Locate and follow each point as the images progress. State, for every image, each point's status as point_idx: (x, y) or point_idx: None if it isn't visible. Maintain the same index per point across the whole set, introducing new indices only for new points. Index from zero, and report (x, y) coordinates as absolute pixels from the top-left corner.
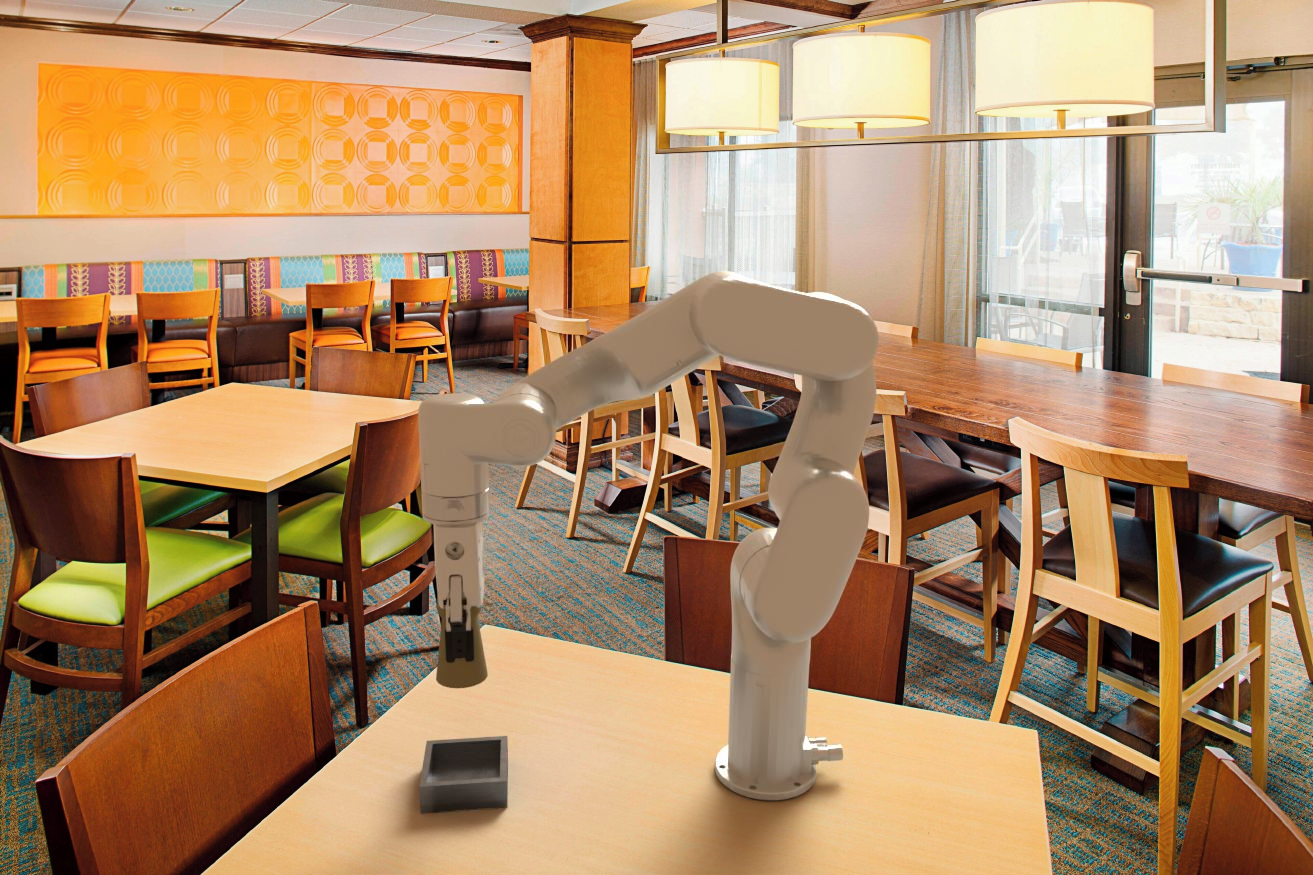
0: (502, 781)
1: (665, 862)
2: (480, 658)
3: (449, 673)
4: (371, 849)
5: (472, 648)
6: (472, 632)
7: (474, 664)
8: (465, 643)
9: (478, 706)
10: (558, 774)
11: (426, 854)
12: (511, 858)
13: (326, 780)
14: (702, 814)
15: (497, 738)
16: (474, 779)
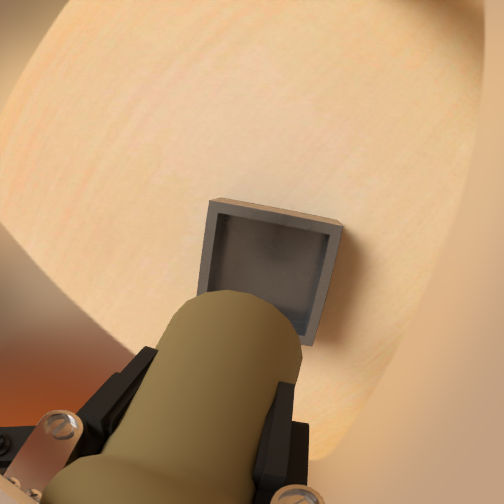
0: (341, 232)
1: (478, 79)
2: (264, 351)
3: None
4: (356, 377)
5: (291, 415)
6: (284, 466)
7: (285, 367)
8: (307, 459)
9: (85, 218)
10: (278, 132)
11: (390, 328)
12: (435, 237)
13: None
14: (407, 6)
15: (213, 217)
16: (322, 273)
